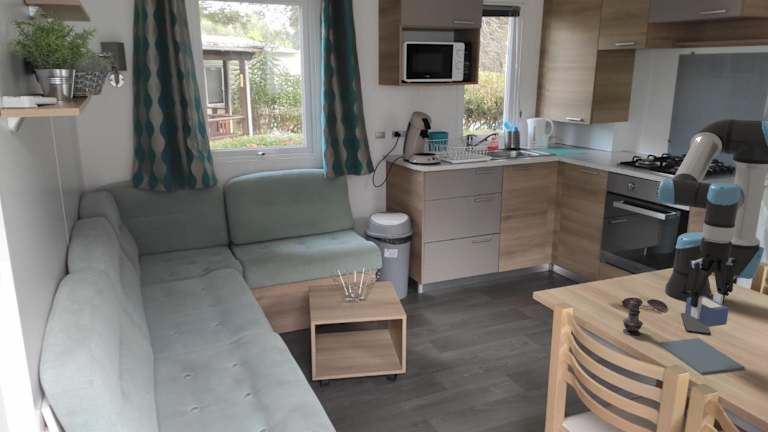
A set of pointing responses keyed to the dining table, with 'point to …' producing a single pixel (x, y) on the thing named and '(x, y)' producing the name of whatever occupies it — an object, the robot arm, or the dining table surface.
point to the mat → (700, 356)
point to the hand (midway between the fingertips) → (705, 315)
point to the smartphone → (694, 325)
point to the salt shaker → (633, 319)
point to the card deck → (709, 312)
